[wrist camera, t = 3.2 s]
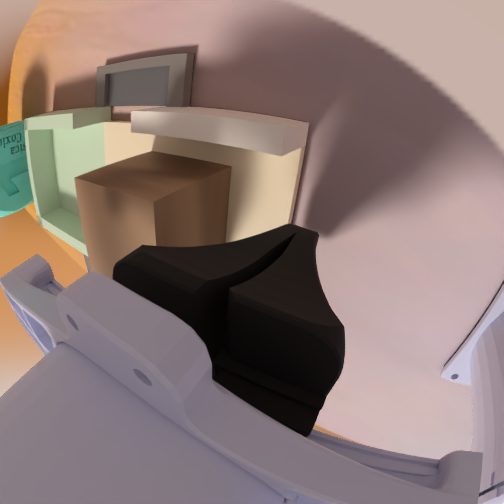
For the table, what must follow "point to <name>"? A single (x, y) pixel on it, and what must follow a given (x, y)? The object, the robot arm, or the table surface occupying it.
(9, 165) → the decorative dice
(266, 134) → the tray
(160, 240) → the walnut cube
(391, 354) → the table surface
